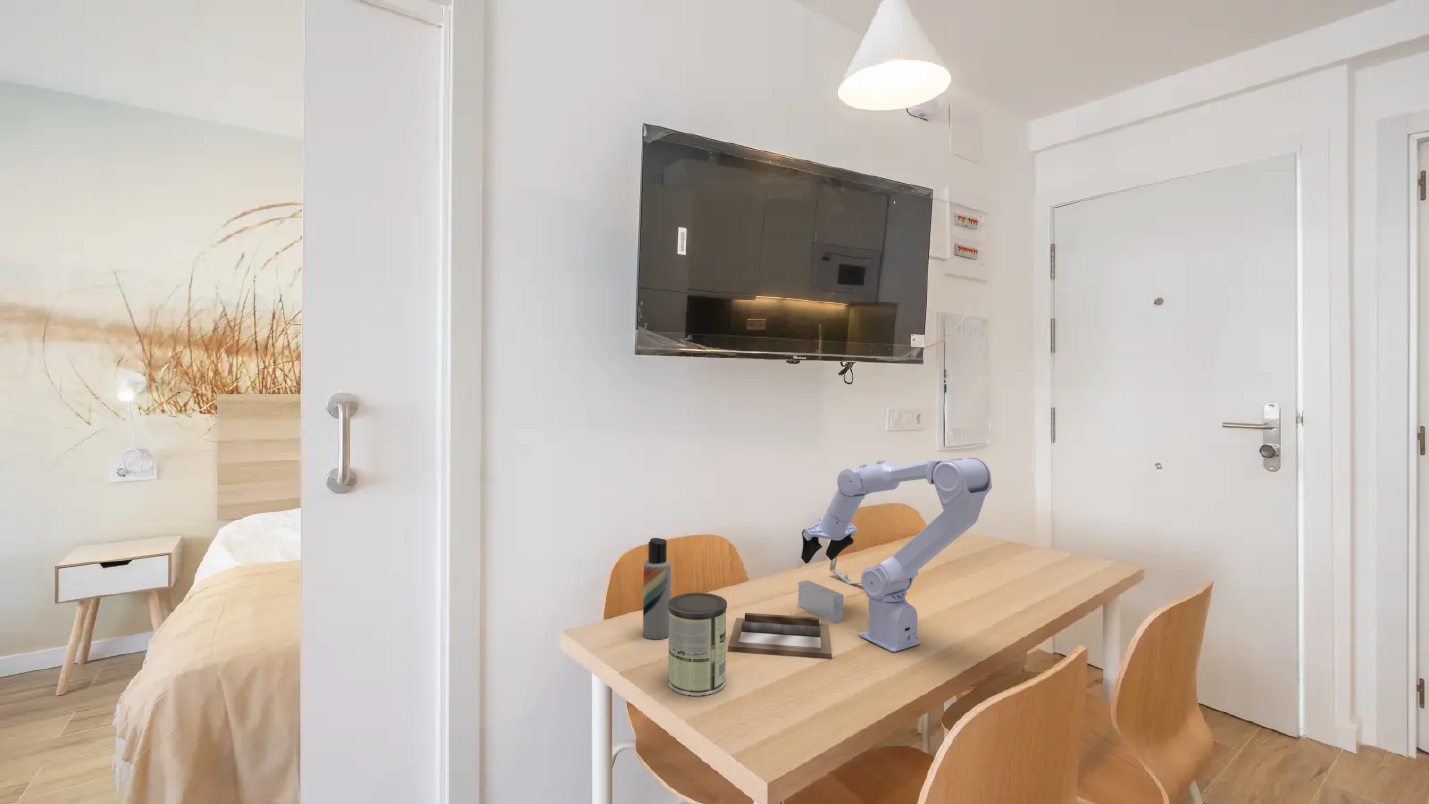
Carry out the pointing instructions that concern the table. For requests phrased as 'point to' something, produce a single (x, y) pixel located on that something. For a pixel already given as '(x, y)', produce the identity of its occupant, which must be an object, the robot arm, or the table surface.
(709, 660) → the coffee can
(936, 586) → the table surface
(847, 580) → the bracket
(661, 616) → the lotion bottle
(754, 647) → the hinge base
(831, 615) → the grey speckled stone slab
